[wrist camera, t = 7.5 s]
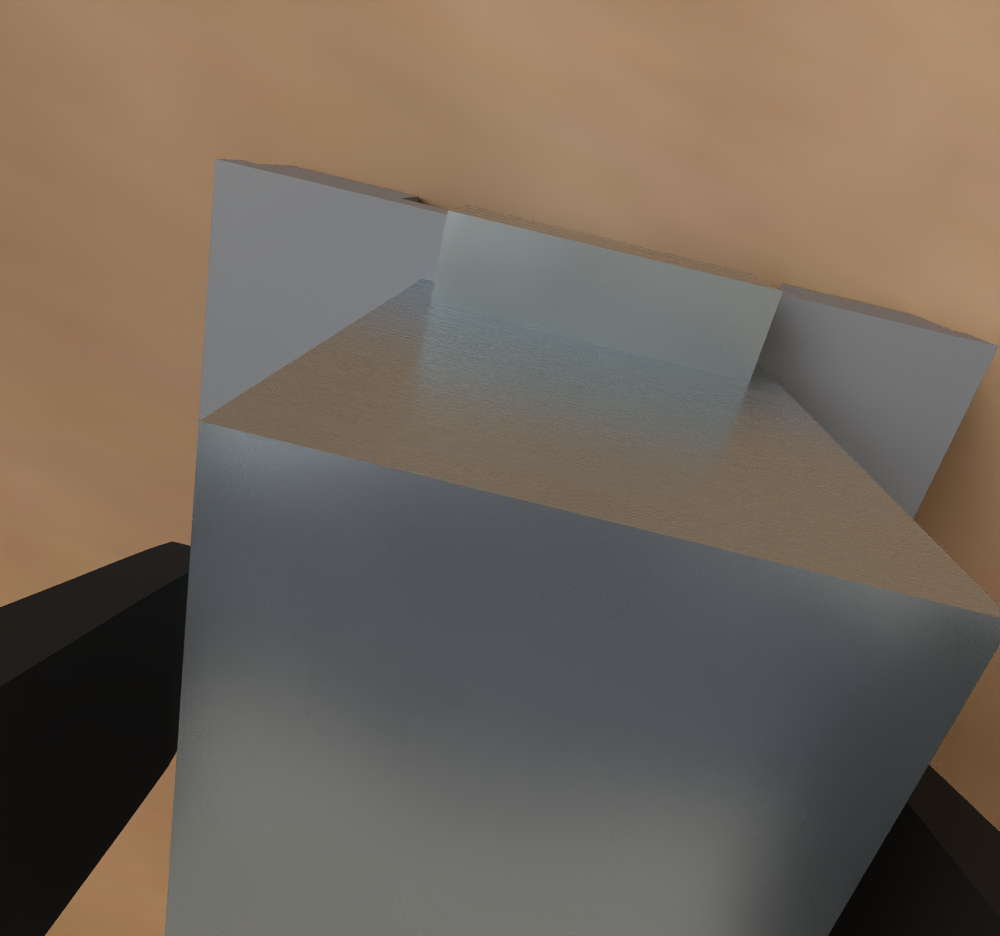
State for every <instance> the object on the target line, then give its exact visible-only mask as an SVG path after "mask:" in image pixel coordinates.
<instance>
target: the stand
mask: <svg viewBox="0 0 1000 936" xmlns="http://www.w3.org/2000/svg"><path fill="white" fill-rule="evenodd" d="M418 197H419V196H414V195H410V194H406V193H402V192H398V191H394V190H389V189H385V188H381V187H377V186H373V185H368V184H364V183H360V182H356V181H352V180H348V179H343V178H339V177H335V176H331V175H327V174H323V173H318V172H314V171H310V170H306V169H302V168H297V167H293V166H288V165H268V164H255V163H251V162H247V161H243V160H226V159H216V161H215V176H214V192H213V208H212V224H211V239H210V255H209V271H208V286H207V302H206V318H205V334H204V349H203V365H202V381H201V396H200V412H199V421H200V420H201V419H203V418H204V417H206V416H208V415H209V414H211V413H212V412H214V411H215V410H217V409H218V408H220V407H222V406H223V405H225V404H226V403H228V402H229V401H231V400H233V399H234V398H236V397H237V396H239V395H240V394H242V393H244V392H245V391H247V390H248V389H250V388H251V387H253V386H255V385H256V384H258V383H259V382H261V381H262V380H264V379H265V378H267V377H269V376H270V375H272V374H273V373H275V372H276V371H278V370H280V369H281V368H283V367H284V366H286V365H287V364H289V363H291V362H292V361H294V360H295V359H297V358H298V357H300V356H301V355H303V354H305V353H306V352H308V351H309V350H311V349H312V348H314V347H316V346H317V345H319V344H320V343H322V342H323V341H325V340H327V339H328V338H330V337H331V336H333V335H334V334H336V333H338V332H339V331H341V330H342V329H344V328H345V327H347V326H348V325H350V324H352V323H353V322H355V321H356V320H358V319H359V318H361V317H363V316H364V315H366V314H367V313H369V312H370V311H372V310H374V309H375V308H377V307H378V306H380V305H381V304H383V303H385V302H386V301H388V300H389V299H391V298H392V297H394V296H395V295H397V294H399V293H400V292H402V291H403V290H405V289H406V288H408V287H410V286H411V285H413V284H414V283H416V282H417V281H419V280H421V279H426V280H430V281H434V282H435V277H436V272H437V266H438V261H439V255H440V250H441V245H442V239H443V234H444V228H445V223H446V217H447V212H448V210H447V209H443V208H439V207H435V206H431V205H426V204H422V203H418ZM779 290H781V291H783V293H782V295H781V298H780V301H779V303H778V306H777V309H776V312H775V314H774V317H773V320H772V322H771V325H770V328H769V331H768V333H767V336H766V339H765V342H764V344H763V347H762V350H761V352H760V355H759V358H758V361H757V363H758V364H759V365H760V366H761V367H762V368H763V369H764V370H765V371H766V372H767V373H768V374H769V375H770V376H771V377H772V378H773V379H774V380H775V381H776V382H777V383H778V384H779V385H780V386H781V387H782V388H783V389H784V390H785V391H786V392H787V393H788V394H789V395H790V396H791V397H792V398H793V399H794V400H795V401H796V402H797V403H798V404H799V405H800V406H801V407H802V408H803V409H804V410H805V411H806V412H807V413H808V414H809V415H810V416H811V417H812V418H813V419H814V420H815V421H816V422H817V423H818V424H819V425H820V426H821V427H822V428H823V429H824V430H825V431H826V432H827V433H828V434H829V435H830V436H831V437H832V438H833V439H834V440H835V441H836V442H837V443H838V444H839V445H840V446H841V447H842V448H843V449H844V450H845V451H846V452H847V453H848V454H849V455H850V456H851V457H852V458H853V459H854V460H855V461H856V462H857V463H858V464H859V465H860V466H861V467H862V468H863V469H864V470H865V471H866V472H867V474H868V475H869V476H870V477H871V478H872V479H873V480H874V481H875V482H876V483H877V484H878V485H879V486H880V487H881V488H882V489H883V490H884V491H885V492H886V493H887V494H888V495H889V496H890V497H891V498H892V499H893V500H894V501H895V502H896V503H897V504H898V505H899V506H900V507H901V508H902V509H903V510H904V511H905V512H906V513H907V514H908V515H909V516H910V517H911V518H912V519H914V517H915V515H916V513H917V511H918V509H919V507H920V505H921V503H922V501H923V499H924V497H925V495H926V493H927V491H928V488H929V486H930V484H931V482H932V480H933V478H934V476H935V474H936V472H937V470H938V468H939V466H940V464H941V462H942V460H943V458H944V456H945V454H946V452H947V450H948V448H949V446H950V444H951V442H952V440H953V438H954V436H955V434H956V431H957V429H958V427H959V425H960V423H961V421H962V419H963V417H964V415H965V413H966V411H967V409H968V407H969V405H970V403H971V401H972V399H973V397H974V395H975V393H976V391H977V389H978V387H979V385H980V383H981V381H982V379H983V377H984V375H985V372H986V370H987V368H988V366H989V364H990V362H991V360H992V358H993V356H994V354H995V352H996V350H997V348H998V346H996V345H993V344H991V343H988V342H986V341H983V340H981V339H978V338H976V337H973V336H971V335H968V334H965V333H961V332H957V331H952V330H950V329H947V328H945V327H942V326H940V325H937V324H935V323H932V322H930V321H927V320H925V319H922V318H920V317H917V316H915V315H911V314H907V313H903V312H899V311H895V310H891V309H886V308H882V307H878V306H874V305H870V304H865V303H861V302H857V301H853V300H849V299H845V298H840V297H836V296H832V295H828V294H824V293H820V292H815V291H811V290H807V289H803V288H799V287H794V286H790V285H786V284H782V287H781V289H779ZM198 429H199V428H198Z"/></svg>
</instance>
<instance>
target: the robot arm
mask: <svg viewBox="0 0 1000 936" xmlns="http://www.w3.org/2000/svg"><path fill="white" fill-rule="evenodd" d="M190 550H191V546H189V545H184V544H180V543H176V542H169V543H166V544H163V545H160V546H157V547H154V548H151V549H148V550H145V551H143V552H140V553H137V554H135V555H132V556H129V557H127V558H124V559H122V560H119V561H117V562H114V563H112V564H109V565H107V566H104V567H102V568H99V569H97V570H94V571H92V572H89V573H87V574H84V575H82V576H79V577H77V578H74V579H72V580H69V581H66V582H64V583H61V584H59V585H56V586H54V587H51V588H49V589H46V590H43V591H41V592H38V593H36V594H33V595H31V596H28V597H26V598H23V599H20V600H18V601H15V602H13V603H10V604H8V605H5V606H3V607H0V936H45V935H46V933H47V932H48V930H49V929H50V928H51V926H52V925H53V924H54V922H55V921H56V920H57V918H58V917H59V915H60V914H61V913H62V911H63V910H64V909H65V907H66V906H67V905H68V903H69V902H70V900H71V899H72V898H73V896H74V895H75V894H76V892H77V891H78V890H79V888H80V887H81V885H82V884H83V883H84V881H85V880H86V879H87V877H88V876H89V875H90V873H91V872H92V871H93V869H94V868H95V866H96V865H97V864H98V862H99V861H100V860H101V858H102V857H103V856H104V854H105V853H106V851H107V850H108V849H109V847H110V846H111V845H112V843H113V842H114V841H115V839H116V838H117V837H118V835H119V834H120V832H121V831H122V830H123V828H124V827H125V826H126V824H127V823H128V821H129V820H130V819H131V817H132V816H133V815H134V813H135V812H136V810H137V809H138V808H139V806H140V805H141V803H142V802H143V801H144V799H145V798H146V797H147V795H148V794H149V792H150V791H151V790H152V788H153V787H154V785H155V784H156V783H157V781H158V780H159V778H160V777H161V776H162V774H163V773H164V771H165V770H166V769H167V767H168V766H169V764H170V762H171V760H172V759H173V757H174V755H175V753H176V752H177V745H178V730H179V715H180V700H181V685H182V670H183V655H184V640H185V625H186V610H187V595H188V580H189V565H190ZM828 936H1000V832H999V831H998V830H997V829H996V828H995V827H994V826H993V825H992V824H991V823H990V822H989V821H988V820H987V819H985V818H984V817H983V816H982V815H981V814H980V813H979V812H978V811H977V810H976V809H975V808H974V807H973V806H972V805H971V804H970V803H969V802H968V801H967V800H966V799H964V798H963V797H962V796H961V795H960V794H959V793H958V792H957V791H956V790H955V789H954V788H953V787H952V786H951V785H950V784H949V783H948V782H947V781H946V780H945V779H944V778H942V777H941V776H940V775H939V774H938V773H937V772H936V771H935V770H934V769H933V768H932V767H931V766H930V765H928V767H927V768H926V770H925V772H924V773H923V775H922V777H921V779H920V780H919V782H918V784H917V785H916V787H915V789H914V790H913V792H912V794H911V796H910V797H909V799H908V801H907V802H906V804H905V806H904V807H903V809H902V811H901V812H900V814H899V816H898V818H897V819H896V821H895V823H894V824H893V826H892V828H891V829H890V831H889V833H888V835H887V836H886V838H885V840H884V841H883V843H882V845H881V846H880V848H879V850H878V851H877V853H876V855H875V857H874V858H873V860H872V862H871V863H870V865H869V867H868V868H867V870H866V872H865V874H864V875H863V877H862V879H861V880H860V882H859V884H858V885H857V887H856V889H855V891H854V892H853V894H852V896H851V897H850V899H849V901H848V902H847V904H846V906H845V907H844V909H843V911H842V913H841V914H840V916H839V918H838V919H837V921H836V923H835V924H834V926H833V928H832V930H831V931H830V933H829V935H828Z"/></svg>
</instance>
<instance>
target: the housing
mask: <svg viewBox="0 0 1000 936" xmlns="http://www.w3.org/2000/svg"><path fill="white" fill-rule="evenodd" d="M782 293H783V291H781V290H779V289H777V288H776V287H774V286H772V285H770V284H768V283H766V282H764V281H763V280H761V279H759V278H757V277H755V276H753V275H752V274H748V273H744V272H740V271H736V270H731V269H727V268H723V267H719V266H715V265H711V264H707V263H703V262H698V261H694V260H690V259H686V258H682V257H678V256H674V255H670V254H665V253H661V252H657V251H653V250H649V249H645V248H641V247H637V246H632V245H628V244H624V243H620V242H616V241H612V240H608V239H604V238H599V237H595V236H591V235H587V234H583V233H579V232H575V231H570V230H566V229H562V228H558V227H554V226H550V225H546V224H542V223H537V222H533V221H529V220H525V219H521V218H517V217H513V216H509V215H504V214H500V213H496V212H492V211H488V210H484V209H480V208H476V207H471V206H464V207H459V208H455V209H451V210H448V212H447V217H446V223H445V228H444V234H443V239H442V245H441V250H440V255H439V261H438V266H437V272H436V277H435V282H434V281H430V280H426V279H421V280H419V281H417V282H416V283H414V284H413V285H411V286H410V287H408V288H406V289H405V290H403V291H402V292H400V293H399V294H397V295H395V296H394V297H392V298H391V299H389V300H388V301H386V302H385V303H383V304H381V305H380V306H378V307H377V308H375V309H374V310H372V311H370V312H369V313H367V314H366V315H364V316H363V317H361V318H359V319H358V320H356V321H355V322H353V323H352V324H350V325H348V326H347V327H345V328H344V329H342V330H341V331H339V332H338V333H336V334H334V335H333V336H331V337H330V338H328V339H327V340H325V341H323V342H322V343H320V344H319V345H317V346H316V347H314V348H312V349H311V350H309V351H308V352H306V353H305V354H303V355H301V356H300V357H298V358H297V359H295V360H294V361H292V362H291V363H289V364H287V365H286V366H284V367H283V368H281V369H280V370H278V371H276V372H275V373H273V374H272V375H270V376H269V377H267V378H265V379H264V380H262V381H261V382H259V383H258V384H256V385H255V386H253V387H251V388H250V389H248V390H247V391H245V392H244V393H242V394H240V395H239V396H237V397H236V398H234V399H233V400H231V401H229V402H228V403H226V404H225V405H223V406H222V407H220V408H218V409H217V410H215V411H214V412H212V413H211V414H209V415H208V416H206V417H204V418H203V419H201V420H200V421H199V429H198V444H197V459H196V474H195V489H194V504H193V520H192V535H191V550H190V565H189V580H188V595H187V610H186V625H185V640H184V655H183V670H182V685H181V700H180V715H179V730H178V745H177V761H176V776H175V791H174V806H173V821H172V836H171V851H170V866H169V881H168V896H167V911H166V926H165V936H828V935H829V933H830V931H831V930H832V928H833V926H834V924H835V923H836V921H837V919H838V918H839V916H840V914H841V913H842V911H843V909H844V907H845V906H846V904H847V902H848V901H849V899H850V897H851V896H852V894H853V892H854V891H855V889H856V887H857V885H858V884H859V882H860V880H861V879H862V877H863V875H864V874H865V872H866V870H867V868H868V867H869V865H870V863H871V862H872V860H873V858H874V857H875V855H876V853H877V851H878V850H879V848H880V846H881V845H882V843H883V841H884V840H885V838H886V836H887V835H888V833H889V831H890V829H891V828H892V826H893V824H894V823H895V821H896V819H897V818H898V816H899V814H900V812H901V811H902V809H903V807H904V806H905V804H906V802H907V801H908V799H909V797H910V796H911V794H912V792H913V790H914V789H915V787H916V785H917V784H918V782H919V780H920V779H921V777H922V775H923V773H924V772H925V770H926V768H927V767H928V765H929V763H930V762H931V760H932V758H933V757H934V755H935V753H936V751H937V750H938V748H939V746H940V745H941V743H942V741H943V740H944V738H945V736H946V734H947V733H948V731H949V729H950V728H951V726H952V724H953V723H954V721H955V719H956V717H957V716H958V714H959V712H960V711H961V709H962V707H963V706H964V704H965V702H966V701H967V699H968V697H969V695H970V694H971V692H972V690H973V689H974V687H975V685H976V684H977V682H978V680H979V678H980V677H981V675H982V673H983V672H984V670H985V668H986V667H987V665H988V663H989V662H990V660H991V658H992V656H993V655H994V653H995V651H996V650H997V648H998V646H999V645H1000V606H999V605H998V604H997V603H996V602H995V601H994V600H993V599H992V598H991V597H990V596H989V595H988V594H987V593H986V592H985V591H984V590H983V589H982V588H981V587H980V586H979V585H978V584H977V583H976V582H975V581H974V580H973V579H972V578H971V577H970V576H969V575H968V574H967V573H966V572H965V571H964V570H963V569H962V568H961V567H960V566H959V565H958V564H957V563H956V562H955V561H954V560H953V559H952V558H951V557H950V556H949V555H948V554H947V553H946V552H945V551H944V550H943V549H942V548H941V547H940V546H939V545H938V544H937V543H936V542H935V541H934V540H933V539H932V538H931V537H930V536H929V535H928V534H927V533H926V532H925V531H924V530H923V529H922V528H921V527H920V526H919V525H918V524H917V523H916V522H915V521H914V520H913V519H912V518H911V517H910V516H909V515H908V514H907V513H906V512H905V511H904V510H903V509H902V508H901V507H900V506H899V505H898V504H897V503H896V502H895V501H894V500H893V499H892V498H891V497H890V496H889V495H888V494H887V493H886V492H885V491H884V490H883V489H882V488H881V487H880V486H879V485H878V484H877V483H876V482H875V481H874V480H873V479H872V478H871V477H870V476H869V475H868V474H867V472H866V471H865V470H864V469H863V468H862V467H861V466H860V465H859V464H858V463H857V462H856V461H855V460H854V459H853V458H852V457H851V456H850V455H849V454H848V453H847V452H846V451H845V450H844V449H843V448H842V447H841V446H840V445H839V444H838V443H837V442H836V441H835V440H834V439H833V438H832V437H831V436H830V435H829V434H828V433H827V432H826V431H825V430H824V429H823V428H822V427H821V426H820V425H819V424H818V423H817V422H816V421H815V420H814V419H813V418H812V417H811V416H810V415H809V414H808V413H807V412H806V411H805V410H804V409H803V408H802V407H801V406H800V405H799V404H798V403H797V402H796V401H795V400H794V399H793V398H792V397H791V396H790V395H789V394H788V393H787V392H786V391H785V390H784V389H783V388H782V387H781V386H780V385H779V384H778V383H777V382H776V381H775V380H774V379H773V378H772V377H771V376H770V375H769V374H768V373H767V372H766V371H765V370H764V369H763V368H762V367H761V366H760V365H759V364H758V363H757V361H758V358H759V355H760V352H761V350H762V347H763V344H764V342H765V339H766V336H767V333H768V331H769V328H770V325H771V322H772V320H773V317H774V314H775V312H776V309H777V306H778V303H779V301H780V298H781V295H782Z"/></svg>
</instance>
